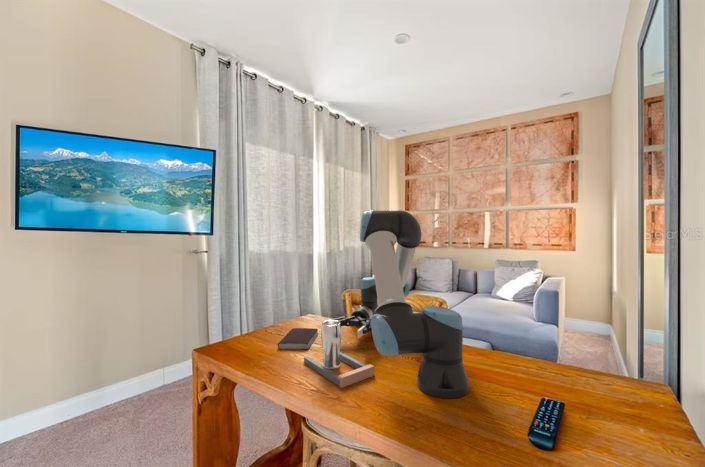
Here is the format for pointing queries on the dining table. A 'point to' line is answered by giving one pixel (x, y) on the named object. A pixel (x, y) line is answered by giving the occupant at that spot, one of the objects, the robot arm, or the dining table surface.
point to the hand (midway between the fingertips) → (341, 332)
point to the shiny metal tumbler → (331, 343)
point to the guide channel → (346, 378)
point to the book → (298, 339)
